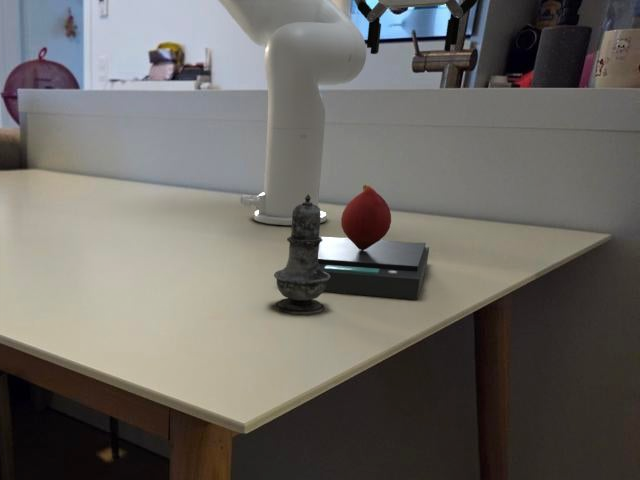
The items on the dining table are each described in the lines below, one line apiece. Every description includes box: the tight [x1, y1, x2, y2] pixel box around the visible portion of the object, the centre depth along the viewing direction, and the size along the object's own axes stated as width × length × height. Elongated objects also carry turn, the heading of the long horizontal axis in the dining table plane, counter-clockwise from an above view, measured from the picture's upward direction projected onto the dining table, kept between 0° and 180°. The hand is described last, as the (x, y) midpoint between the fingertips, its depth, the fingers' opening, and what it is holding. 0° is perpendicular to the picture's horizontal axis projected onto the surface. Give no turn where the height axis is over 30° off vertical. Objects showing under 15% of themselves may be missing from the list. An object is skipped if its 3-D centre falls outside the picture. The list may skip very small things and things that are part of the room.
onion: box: [340, 183, 392, 250], centre depth 90 cm, size 6×6×8 cm
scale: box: [318, 236, 430, 300], centre depth 91 cm, size 15×18×3 cm
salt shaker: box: [273, 194, 330, 315], centre depth 77 cm, size 6×6×12 cm
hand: (410, 52), depth 102 cm, fingers open, 9 cm apart
